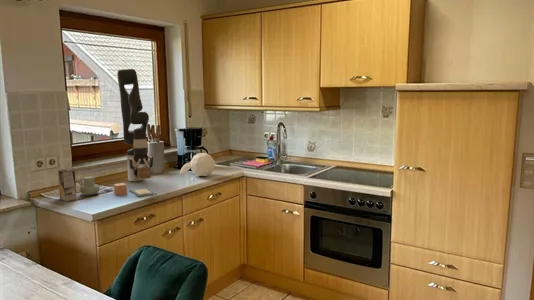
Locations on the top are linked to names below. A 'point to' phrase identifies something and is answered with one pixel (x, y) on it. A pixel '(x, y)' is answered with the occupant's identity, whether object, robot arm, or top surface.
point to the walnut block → (142, 172)
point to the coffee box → (67, 184)
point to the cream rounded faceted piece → (200, 165)
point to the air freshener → (89, 186)
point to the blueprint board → (142, 192)
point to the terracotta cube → (120, 189)
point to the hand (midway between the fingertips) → (141, 175)
